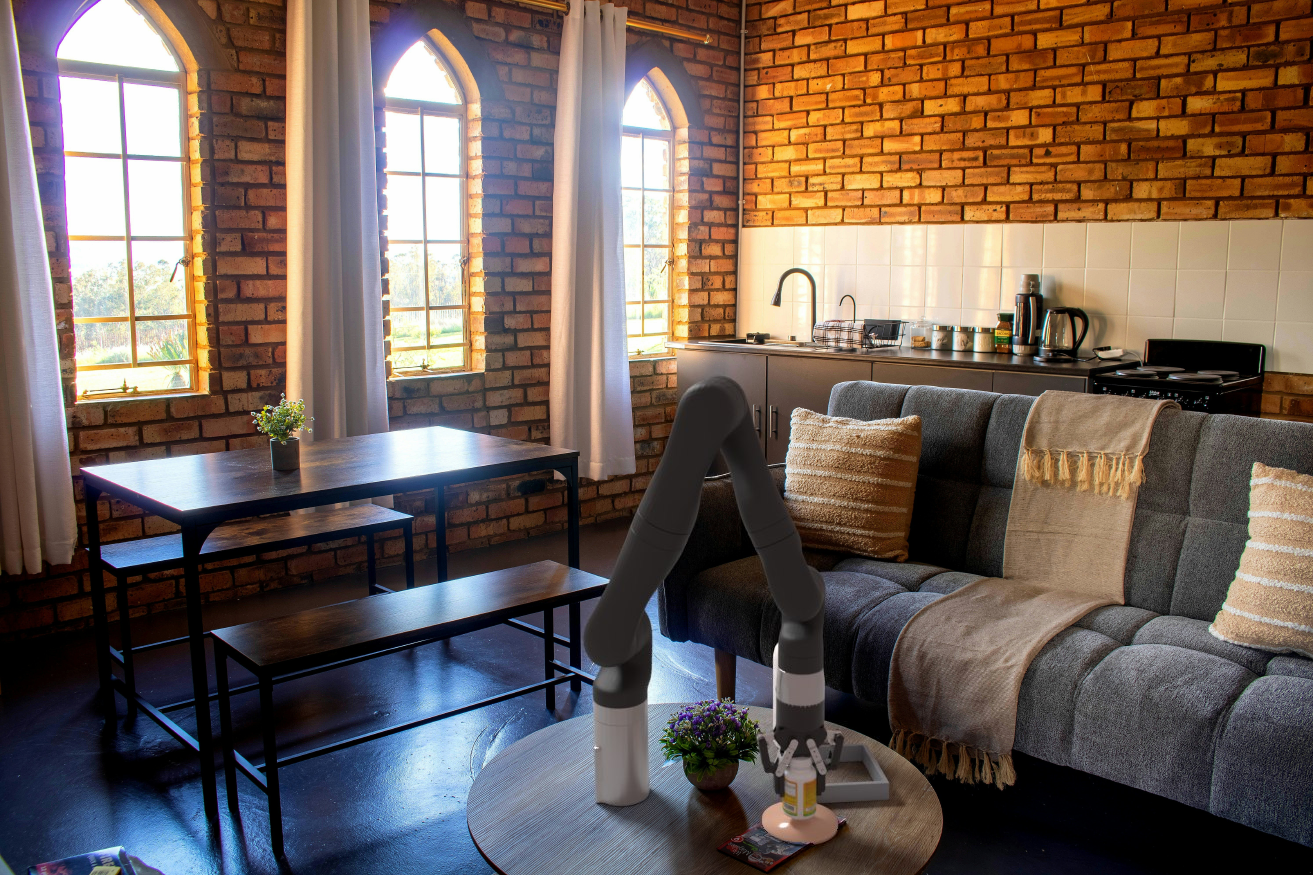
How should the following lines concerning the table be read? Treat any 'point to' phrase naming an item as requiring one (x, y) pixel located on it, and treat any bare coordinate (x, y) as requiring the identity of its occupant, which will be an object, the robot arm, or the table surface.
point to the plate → (800, 825)
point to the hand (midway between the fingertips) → (799, 793)
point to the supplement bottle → (800, 788)
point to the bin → (855, 790)
